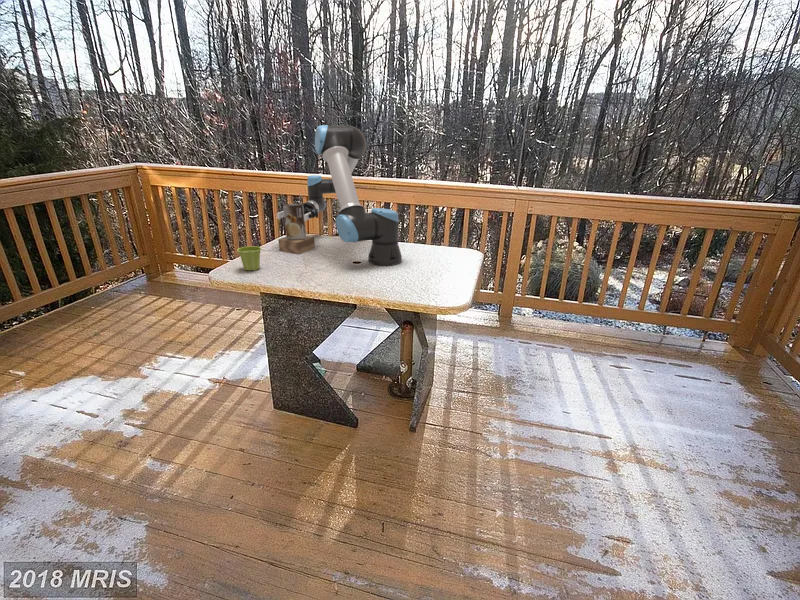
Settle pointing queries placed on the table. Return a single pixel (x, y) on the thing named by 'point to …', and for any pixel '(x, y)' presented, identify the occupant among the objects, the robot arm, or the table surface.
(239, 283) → the table surface
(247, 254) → the plant pot
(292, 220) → the coffee box
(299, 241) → the walnut block
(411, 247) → the table surface
